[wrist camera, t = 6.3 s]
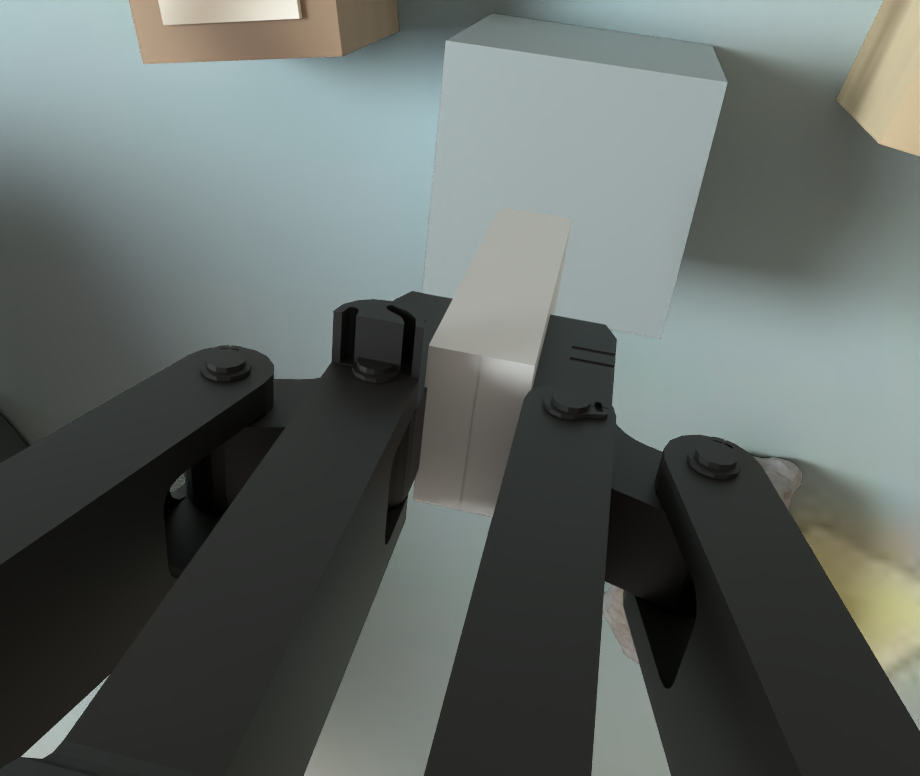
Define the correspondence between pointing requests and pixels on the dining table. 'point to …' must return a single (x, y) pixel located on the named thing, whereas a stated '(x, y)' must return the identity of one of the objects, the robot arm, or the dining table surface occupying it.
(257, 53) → the walnut block
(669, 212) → the plain block
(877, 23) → the oak block
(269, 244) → the dining table surface
